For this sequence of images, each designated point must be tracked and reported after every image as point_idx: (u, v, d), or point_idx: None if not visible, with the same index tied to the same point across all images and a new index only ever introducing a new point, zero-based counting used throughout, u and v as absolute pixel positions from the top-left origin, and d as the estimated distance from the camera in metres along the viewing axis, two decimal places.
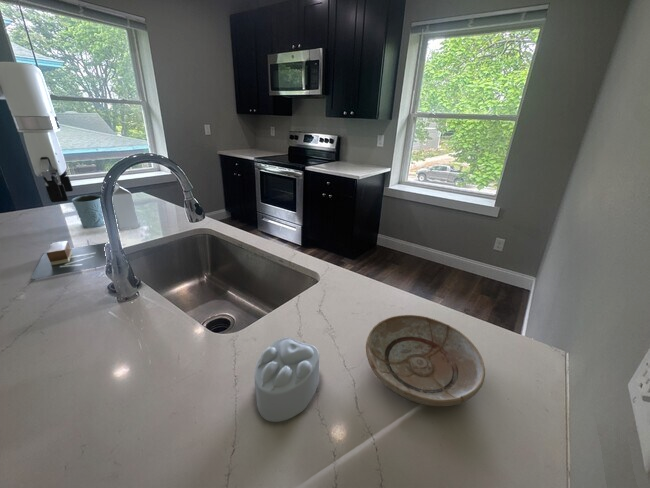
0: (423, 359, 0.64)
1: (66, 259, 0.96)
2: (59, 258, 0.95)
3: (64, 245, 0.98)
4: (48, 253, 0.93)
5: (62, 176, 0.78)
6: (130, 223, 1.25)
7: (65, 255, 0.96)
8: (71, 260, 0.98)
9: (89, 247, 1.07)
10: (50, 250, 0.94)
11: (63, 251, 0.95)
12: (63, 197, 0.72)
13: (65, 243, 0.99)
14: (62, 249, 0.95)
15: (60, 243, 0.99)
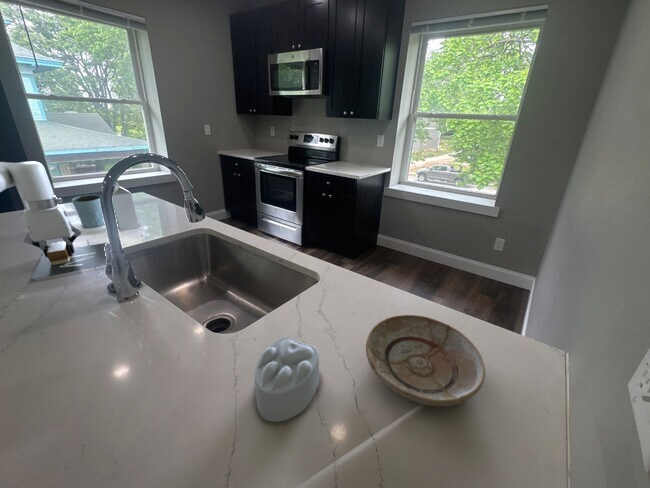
0: (423, 359, 0.64)
1: (66, 259, 0.96)
2: (59, 258, 0.95)
3: (64, 245, 0.98)
4: (48, 253, 0.93)
5: None
6: (130, 223, 1.25)
7: (65, 255, 0.96)
8: (71, 260, 0.98)
9: (89, 247, 1.07)
10: (50, 250, 0.94)
11: (63, 251, 0.95)
12: None
13: (65, 243, 0.99)
14: (62, 249, 0.95)
15: (60, 243, 0.99)
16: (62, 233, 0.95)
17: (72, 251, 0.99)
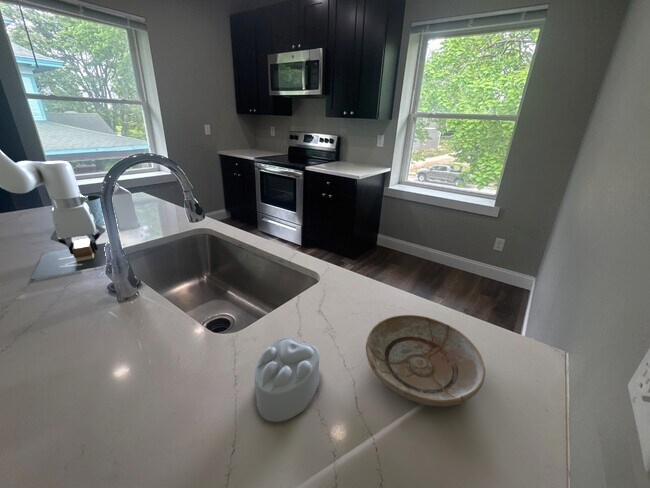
0: (423, 359, 0.64)
1: (90, 255, 0.99)
2: (84, 254, 0.98)
3: (88, 242, 1.00)
4: (74, 250, 0.96)
5: (90, 242, 1.00)
6: (130, 223, 1.25)
7: (90, 251, 0.98)
8: (71, 260, 0.98)
9: None
10: (75, 247, 0.97)
11: (88, 248, 0.97)
12: None
13: (89, 240, 1.02)
14: (87, 246, 0.98)
15: (84, 240, 1.01)
16: (87, 231, 0.97)
17: (96, 248, 1.02)
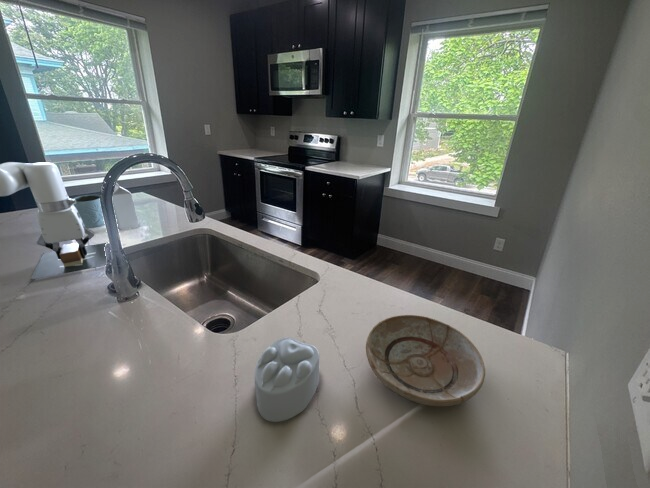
0: (423, 359, 0.64)
1: (79, 260, 0.95)
2: (72, 260, 0.94)
3: (76, 246, 0.96)
4: (61, 255, 0.92)
5: (79, 246, 0.96)
6: (130, 223, 1.25)
7: (78, 256, 0.94)
8: None
9: (89, 247, 1.07)
10: (63, 252, 0.93)
11: (76, 252, 0.94)
12: None
13: (77, 244, 0.98)
14: (75, 250, 0.94)
15: (72, 244, 0.98)
16: (75, 235, 0.93)
17: (85, 253, 0.98)
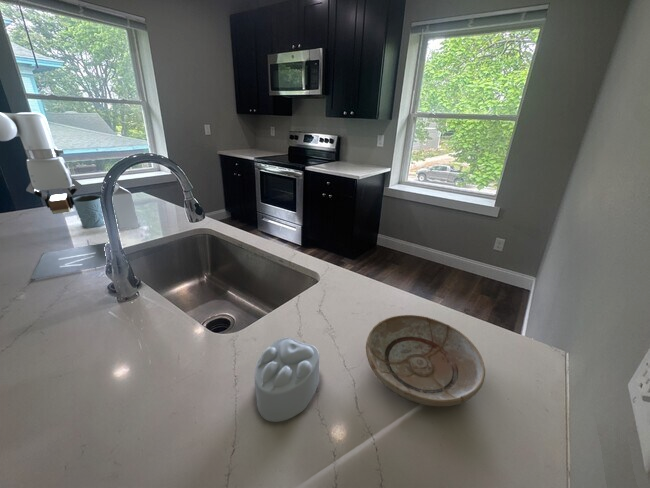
0: (423, 359, 0.64)
1: (66, 209, 1.01)
2: (60, 207, 1.00)
3: (64, 196, 1.03)
4: (49, 202, 0.98)
5: None
6: (130, 223, 1.25)
7: (65, 205, 1.01)
8: (71, 260, 0.98)
9: (89, 247, 1.07)
10: (51, 199, 0.99)
11: (63, 200, 1.00)
12: None
13: (65, 195, 1.04)
14: (62, 199, 1.00)
15: (61, 195, 1.04)
16: (63, 184, 1.00)
17: (72, 203, 1.04)
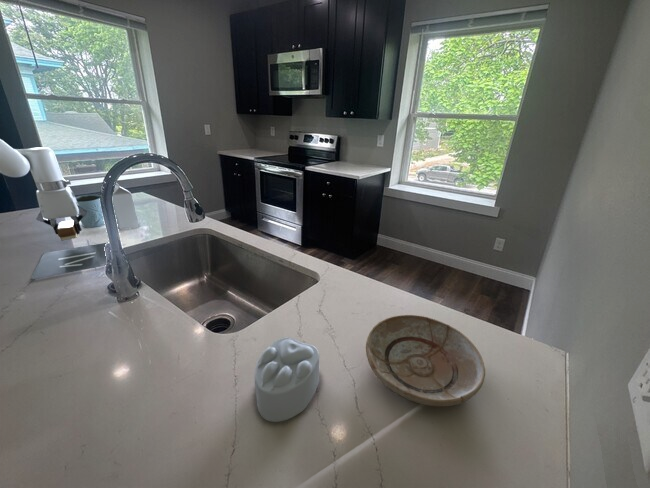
0: (423, 359, 0.64)
1: (74, 235, 1.07)
2: (68, 234, 1.06)
3: (72, 223, 1.09)
4: (58, 229, 1.04)
5: (74, 223, 1.09)
6: (130, 223, 1.25)
7: (73, 231, 1.07)
8: (71, 260, 0.98)
9: (89, 247, 1.07)
10: (59, 227, 1.05)
11: (71, 228, 1.06)
12: None
13: (72, 221, 1.10)
14: (70, 226, 1.06)
15: (68, 221, 1.10)
16: (70, 212, 1.06)
17: (79, 229, 1.10)
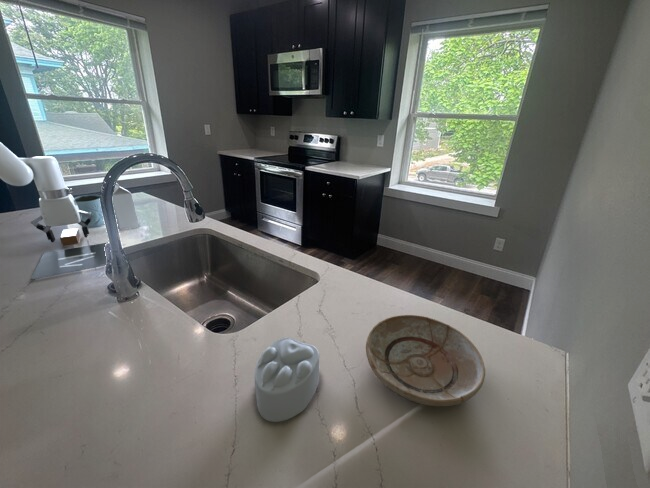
0: (423, 359, 0.64)
1: None
2: (71, 243, 1.08)
3: (75, 231, 1.10)
4: (61, 238, 1.06)
5: (82, 226, 1.11)
6: (130, 223, 1.25)
7: (76, 240, 1.08)
8: (71, 260, 0.98)
9: (89, 247, 1.07)
10: (63, 235, 1.07)
11: (74, 236, 1.08)
12: None
13: (76, 230, 1.12)
14: (73, 235, 1.08)
15: (71, 230, 1.12)
16: (72, 220, 1.07)
17: (87, 233, 1.12)
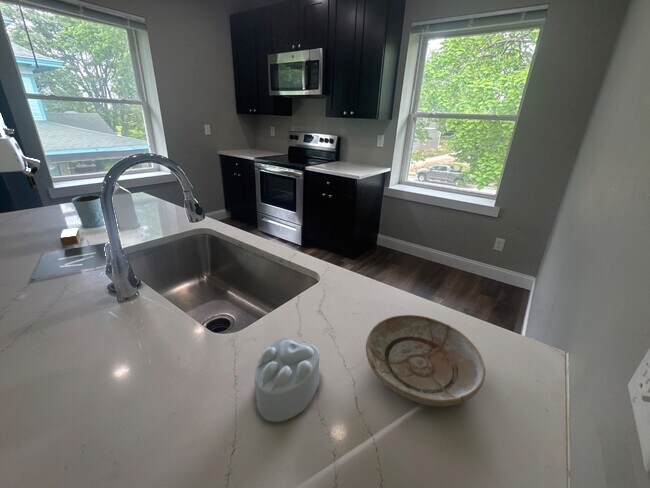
0: (423, 359, 0.64)
1: None
2: (71, 243, 1.08)
3: (75, 231, 1.10)
4: (61, 238, 1.06)
5: None
6: (130, 223, 1.25)
7: (76, 240, 1.08)
8: (71, 260, 0.98)
9: (89, 247, 1.07)
10: (63, 235, 1.07)
11: (74, 236, 1.08)
12: None
13: (76, 230, 1.12)
14: (73, 235, 1.08)
15: (71, 230, 1.12)
16: (14, 166, 0.93)
17: (34, 183, 0.97)
